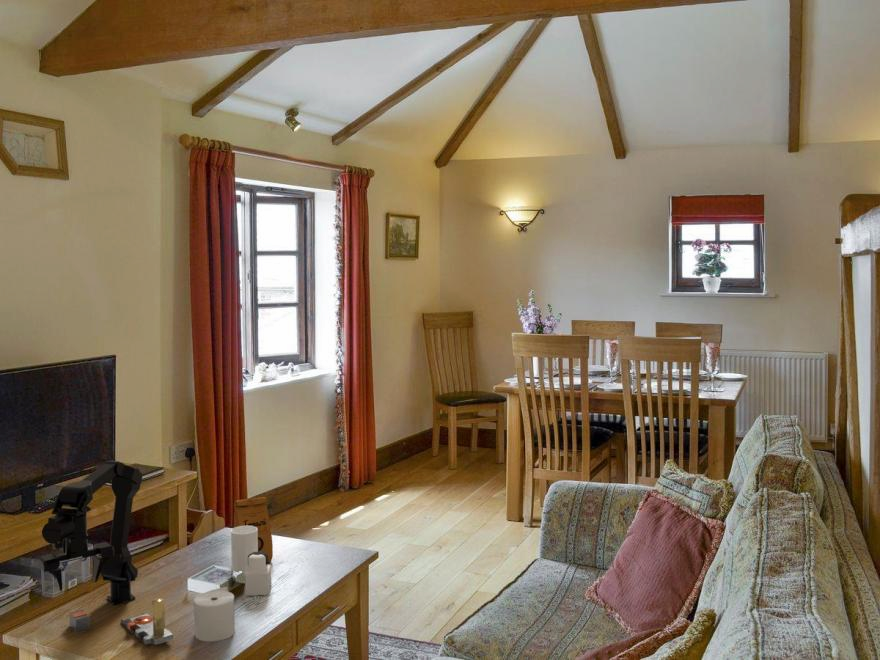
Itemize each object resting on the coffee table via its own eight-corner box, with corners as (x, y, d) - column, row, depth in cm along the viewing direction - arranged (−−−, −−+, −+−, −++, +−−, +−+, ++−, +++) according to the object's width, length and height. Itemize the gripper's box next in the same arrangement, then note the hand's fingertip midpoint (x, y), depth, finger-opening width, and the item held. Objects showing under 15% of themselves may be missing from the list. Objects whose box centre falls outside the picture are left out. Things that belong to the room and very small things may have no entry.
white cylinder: (251, 584, 265) (251, 534, 264) (227, 582, 267) (226, 533, 265) (262, 574, 273) (261, 526, 272) (238, 572, 275) (237, 524, 273)
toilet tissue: (197, 645, 224) (196, 608, 223) (191, 626, 235) (190, 592, 234) (238, 638, 229) (237, 602, 228) (230, 620, 240) (229, 586, 239)
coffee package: (274, 564, 282) (273, 500, 280) (236, 569, 277) (235, 504, 275) (269, 554, 291) (268, 492, 289) (232, 559, 287) (231, 496, 284)
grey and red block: (69, 626, 236) (69, 612, 235) (82, 623, 238) (82, 608, 237) (76, 634, 231) (75, 619, 231) (89, 630, 233) (89, 616, 233)
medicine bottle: (248, 587, 263) (247, 549, 262) (271, 586, 264) (270, 549, 262) (244, 596, 256) (244, 558, 255) (268, 595, 257) (268, 557, 255)
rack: (124, 625, 233) (122, 588, 232) (147, 618, 238) (146, 582, 237) (148, 646, 220) (147, 608, 220) (173, 639, 225) (172, 601, 224)
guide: (120, 623, 237) (120, 619, 237) (143, 616, 242) (143, 613, 242) (146, 645, 224) (146, 642, 224) (170, 638, 228) (170, 634, 228)
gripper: (99, 517, 244) (101, 569, 245) (30, 531, 232) (33, 586, 233) (114, 526, 236) (116, 580, 237) (43, 541, 223) (45, 598, 225)
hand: (78, 586), depth 233 cm, fingers open, 9 cm apart
